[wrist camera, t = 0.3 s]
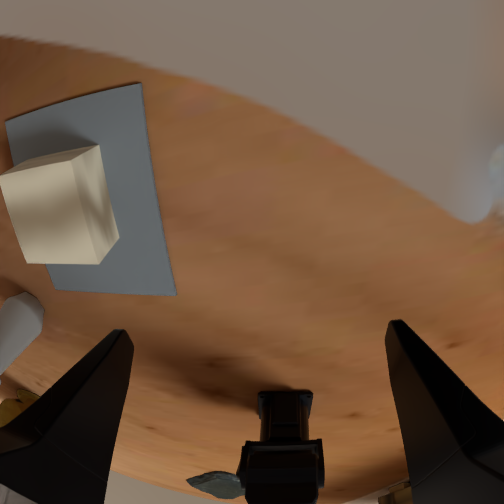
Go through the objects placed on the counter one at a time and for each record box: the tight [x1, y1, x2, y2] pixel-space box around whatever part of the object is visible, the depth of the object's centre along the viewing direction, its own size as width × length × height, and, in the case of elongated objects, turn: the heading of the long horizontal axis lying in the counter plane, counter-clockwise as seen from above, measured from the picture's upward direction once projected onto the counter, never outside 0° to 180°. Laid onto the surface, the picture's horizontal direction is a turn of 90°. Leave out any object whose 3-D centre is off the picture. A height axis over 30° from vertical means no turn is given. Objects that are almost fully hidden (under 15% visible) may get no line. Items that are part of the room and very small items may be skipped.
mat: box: [5, 83, 177, 296], centre depth 24 cm, size 18×14×1 cm
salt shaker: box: [0, 292, 44, 385], centre depth 26 cm, size 6×6×13 cm
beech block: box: [0, 145, 119, 264], centre depth 22 cm, size 8×8×4 cm
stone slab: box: [187, 471, 245, 499], centre depth 59 cm, size 24×17×2 cm
